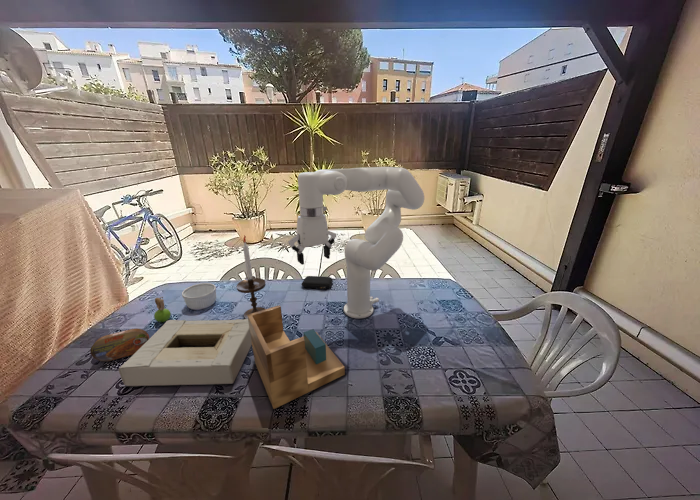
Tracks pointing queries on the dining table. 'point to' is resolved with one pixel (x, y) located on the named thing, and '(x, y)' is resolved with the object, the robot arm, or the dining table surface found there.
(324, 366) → the shelf
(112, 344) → the tin
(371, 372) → the dining table surface
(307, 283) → the carrying case
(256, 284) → the candlestick
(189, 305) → the ramekin
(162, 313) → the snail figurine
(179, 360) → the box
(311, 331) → the teal rectangular block
